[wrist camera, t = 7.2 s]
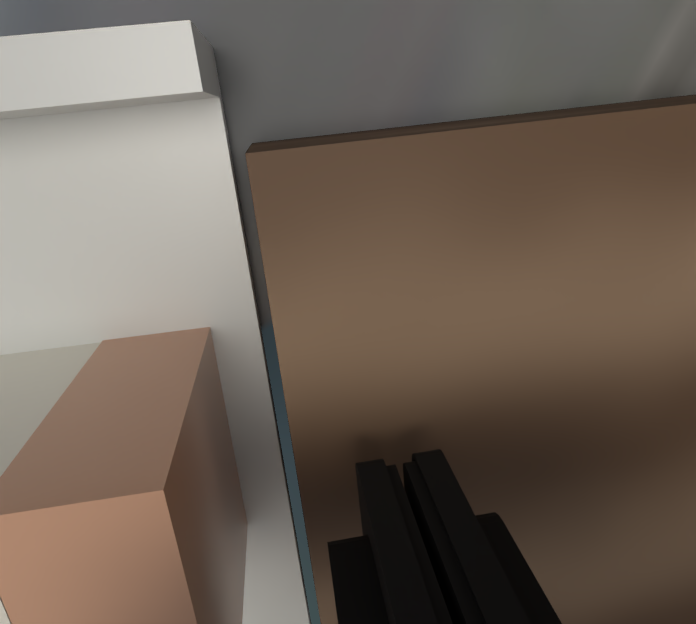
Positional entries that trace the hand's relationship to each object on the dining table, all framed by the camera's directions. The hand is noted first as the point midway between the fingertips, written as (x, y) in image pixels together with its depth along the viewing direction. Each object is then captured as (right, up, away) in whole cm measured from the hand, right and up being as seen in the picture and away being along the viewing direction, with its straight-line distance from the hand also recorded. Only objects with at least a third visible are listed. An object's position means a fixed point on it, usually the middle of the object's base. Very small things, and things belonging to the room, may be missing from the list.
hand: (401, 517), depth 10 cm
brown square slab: (+4, +2, +5) cm, 7 cm away
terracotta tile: (-4, 0, +1) cm, 4 cm away
